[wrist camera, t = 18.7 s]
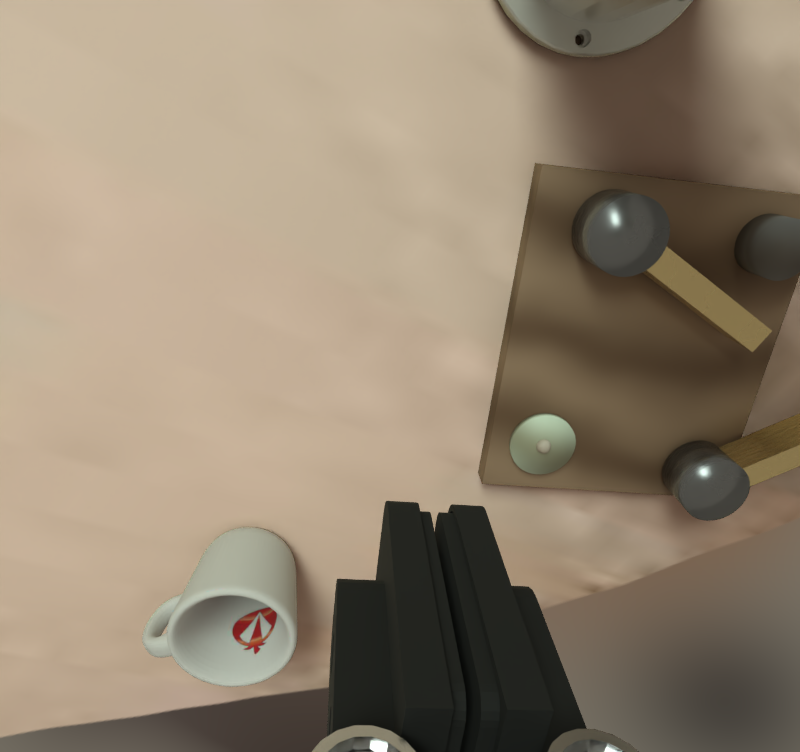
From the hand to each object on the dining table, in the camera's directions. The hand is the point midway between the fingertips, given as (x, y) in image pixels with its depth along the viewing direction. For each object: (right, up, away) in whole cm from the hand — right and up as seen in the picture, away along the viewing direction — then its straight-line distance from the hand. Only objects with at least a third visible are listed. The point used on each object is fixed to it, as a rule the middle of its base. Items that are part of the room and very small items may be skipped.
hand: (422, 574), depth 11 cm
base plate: (+15, +6, +30) cm, 34 cm away
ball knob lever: (+15, +10, +27) cm, 32 cm away
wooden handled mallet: (+24, -1, +32) cm, 40 cm away
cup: (-13, -10, +35) cm, 39 cm away
